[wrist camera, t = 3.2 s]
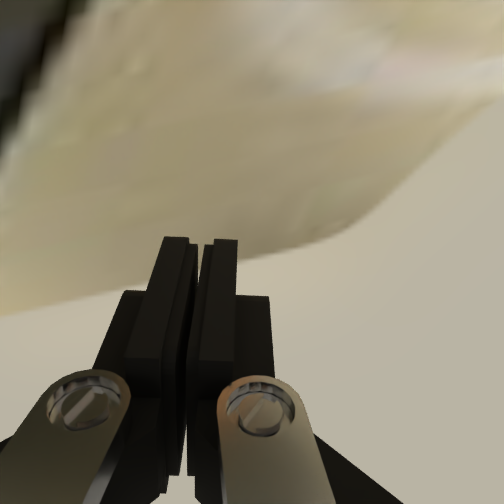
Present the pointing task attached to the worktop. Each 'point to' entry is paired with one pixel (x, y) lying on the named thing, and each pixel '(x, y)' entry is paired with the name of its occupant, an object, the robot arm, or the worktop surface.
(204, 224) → the worktop surface
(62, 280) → the worktop surface
